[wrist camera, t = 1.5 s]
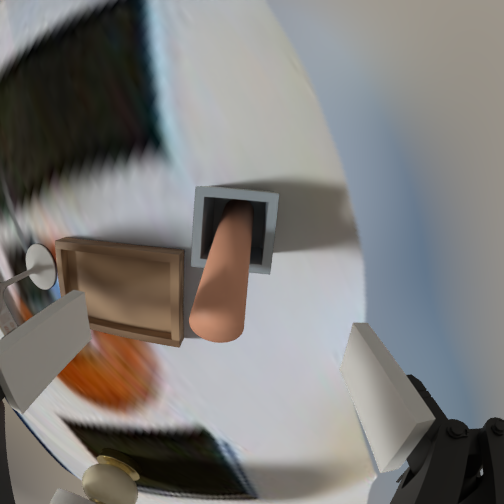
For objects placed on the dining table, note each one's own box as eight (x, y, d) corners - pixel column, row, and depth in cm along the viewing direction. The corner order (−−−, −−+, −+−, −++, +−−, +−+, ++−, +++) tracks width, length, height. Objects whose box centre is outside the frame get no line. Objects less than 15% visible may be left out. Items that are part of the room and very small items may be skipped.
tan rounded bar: (225, 196, 29) (189, 215, 13) (255, 199, 29) (254, 221, 13) (220, 265, 31) (187, 347, 15) (248, 268, 31) (241, 353, 15)
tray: (64, 237, 31) (54, 240, 29) (184, 249, 31) (179, 254, 29) (73, 315, 34) (65, 322, 32) (183, 338, 34) (179, 347, 32)
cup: (210, 186, 30) (195, 186, 22) (273, 191, 30) (279, 193, 22) (205, 247, 31) (191, 266, 24) (266, 253, 31) (270, 274, 24)
